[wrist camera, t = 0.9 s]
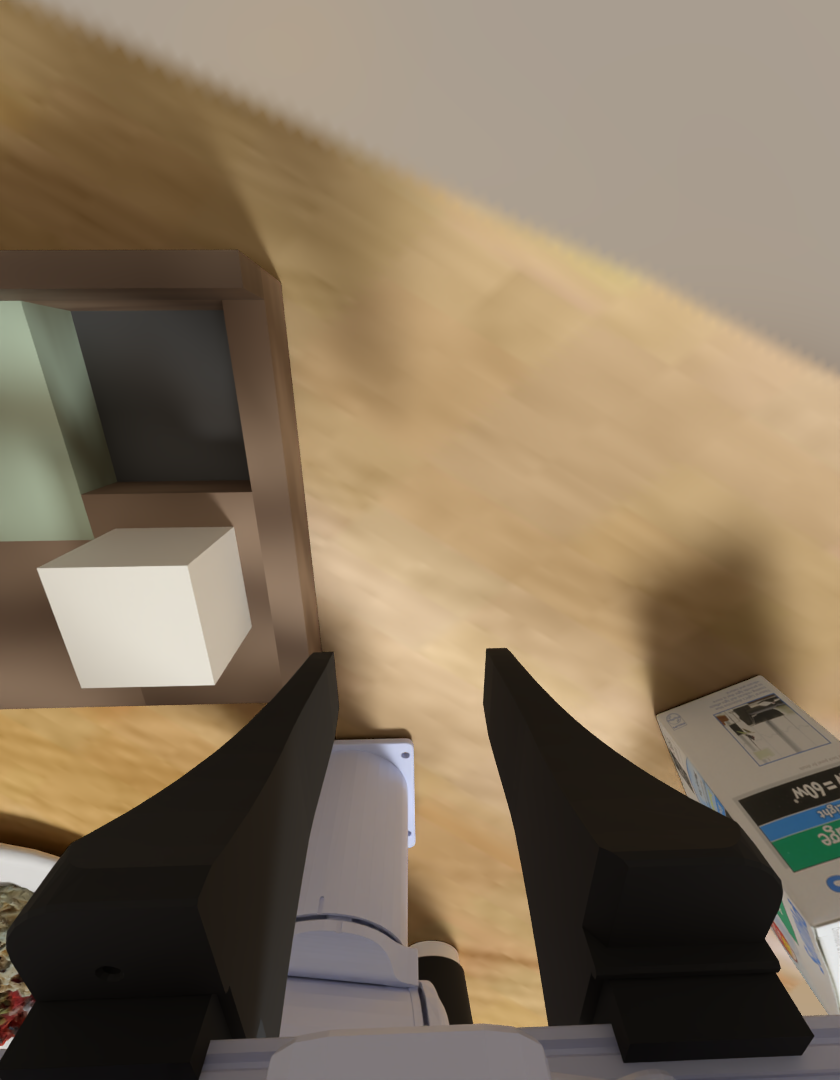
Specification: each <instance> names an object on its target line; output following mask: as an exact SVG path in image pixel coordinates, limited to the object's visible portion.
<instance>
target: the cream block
mask: <svg viewBox="0 0 840 1080" xmlns="http://www.w3.org/2000/svg"><path fill="white" fill-rule="evenodd" d="M37 571H38V573H39V576H40V579H41V581H42V584H43V587H44V589H45V592H46V595H47V597H48V600H49V603H50V605H51V608H52V611H53V613H54V616H55V619H56V622H57V624H58V627H59V630H60V632H61V635H62V638H63V640H64V643H65V646H66V648H67V651H68V654H69V656H70V659H71V662H72V664H73V667H74V670H75V672H76V675H77V678H78V680H79V683H80V686H81V688H115V687H157V686H200V685H215V684H216V682H217V681H218V679H219V678H220V676H221V675H222V673H223V671H224V670H225V668H226V667H227V665H228V664H229V662H230V660H231V659H232V657H233V656H234V654H235V653H236V651H237V649H238V648H239V646H240V645H241V643H242V642H243V640H244V638H245V637H246V635H247V634H248V632H249V631H250V629H251V627H252V625H251V620H250V614H249V608H248V603H247V597H246V592H245V586H244V581H243V575H242V569H241V564H240V558H239V553H238V547H237V541H236V536H235V530H234V527H182V528H119V529H113V530H111V531H109V532H107V533H105V534H104V535H102V536H100V537H98V538H96V539H94V540H92V541H90V542H88V543H86V544H84V545H82V546H80V547H78V548H76V549H74V550H72V551H70V552H68V553H66V554H64V555H62V556H60V557H58V558H56V559H54V560H52V561H50V562H48V563H46V564H44V565H42V566H40V567H38V568H37Z"/></svg>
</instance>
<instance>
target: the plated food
mask: <svg viewBox="0 0 840 1080" xmlns="http://www.w3.org/2000/svg"><path fill="white" fill-rule="evenodd" d="M59 858H60V857H58V856H55V855H52V854H48V853H45V852H42V851H39V850H36V849H30V848H25V847H20V846H15V845H10V844H4V843H0V1049H7V1048H8V1046H9V1045H10V1043H11V1041H12V1040H13V1038H14V1036H15V1035H16V1033H17V1031H18V1030H19V1028H20V1026H21V1025H22V1023H23V1021H24V1020H25V1018H26V1016H27V1015H28V1013H29V1011H30V1010H31V1008H32V1006H33V1005H34V1003H35V1001H36V1000H35V999H34V997H33V995H32V994H31V992H30V991H29V989H28V988H27V986H26V984H25V983H24V981H23V980H22V978H21V977H20V975H19V973H18V972H17V970H16V969H15V967H14V966H13V964H12V962H11V960H10V958H9V955H8V953H7V950H6V934H7V930H8V929H9V928H10V926H11V925H12V923H13V922H14V920H15V919H16V917H17V916H18V915H19V913H20V912H21V910H22V909H23V908H24V906H25V905H26V903H27V902H28V901H29V899H30V898H31V896H32V895H33V894H34V892H35V891H36V890H37V888H38V887H39V885H40V884H41V883H42V881H43V880H44V878H45V877H46V876H47V874H48V873H49V871H50V870H51V869H52V867H53V866H54V865H55V863H56V862H57V861H58V860H59Z"/></svg>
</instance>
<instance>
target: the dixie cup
mask: <svg viewBox="0 0 840 1080" xmlns="http://www.w3.org/2000/svg"><path fill="white" fill-rule="evenodd" d="M409 947H412V948H416V949H417V950H418V980H428V981H430V982H431V983H432V984H433V986H434V987H435V990H436V992H437V994H438V997H439V999H440V1001H441V1002H442V1004H443V1006H444V1008H445V1011H446V1014H447V1017H448V1021H449V1025H462V1024H473V1021H472V1015H471V1010H470V1004H469V998H468V992H467V987H466V981H465V975H464V971H463V968H462V967H461V965H460V961H459V956H458V952H457V950H456V949H455V948H454V947H453V946H451V945H449V944H447V943H444V942H440V941H423V942H419V943H415V944H413V945H411V946H409Z"/></svg>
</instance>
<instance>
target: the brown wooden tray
mask: <svg viewBox="0 0 840 1080" xmlns="http://www.w3.org/2000/svg"><path fill="white" fill-rule="evenodd" d="M182 527H234V530H235V536H236V541H237V547H238V553H239V558H240V564H241V569H242V575H243V581H244V586H245V592H246V597H247V603H248V608H249V614H250V620H251V625H252V627H251V629H250V631H249V632H248V634H247V635H246V637H245V638H244V640H243V642H242V643H241V645H240V646H239V648H238V649H237V651H236V653H235V654H234V656H233V657H232V659H231V660H230V662H229V664H228V665H227V667H226V668H225V670H224V671H223V673H222V675H221V676H220V678H219V679H218V681H217V682H216V684H215V685H200V686H157V687H115V688H81V686H80V683H79V680H78V678H77V675H76V672H75V670H74V667H73V664H72V662H71V659H70V656H69V654H68V651H67V648H66V646H65V643H64V640H63V638H62V635H61V632H60V630H59V627H58V624H57V622H56V619H55V616H54V613H53V611H52V608H51V605H50V603H49V600H48V597H47V595H46V592H45V589H44V587H43V584H42V581H41V579H40V576H39V573H38V571H37V568H38V567H40V566H42V565H44V564H46V563H48V562H50V561H52V560H54V559H56V558H58V557H60V556H62V555H64V554H66V553H68V552H70V551H72V550H74V549H76V548H78V547H80V546H82V545H84V544H86V543H88V542H90V541H92V540H94V539H96V538H98V537H100V536H102V535H104V534H105V533H107V532H109V531H111V530H113V529H119V528H182ZM313 652H322V647H321V638H320V629H319V620H318V611H317V602H316V593H315V584H314V575H313V566H312V557H311V548H310V539H309V530H308V521H307V512H306V504H305V495H304V486H303V477H302V468H301V459H300V450H299V441H298V432H297V423H296V414H295V405H294V396H293V387H292V378H291V369H290V360H289V351H288V342H287V333H286V324H285V315H284V306H283V297H282V288H281V282H280V281H278V280H277V279H276V278H274V277H273V276H272V275H270V274H269V273H268V272H266V271H265V270H264V269H263V268H261V267H260V266H259V265H257V264H256V263H255V262H253V261H252V260H251V259H249V258H248V257H247V256H246V255H244V254H243V253H242V252H240V251H239V250H0V709H29V708H70V707H111V706H151V705H192V704H233V703H269V702H270V701H271V700H272V698H273V697H274V696H275V695H276V694H277V693H278V692H279V691H280V690H281V689H282V687H283V686H284V685H285V684H286V683H287V682H288V681H289V680H290V678H291V677H292V676H293V675H294V674H295V673H296V671H297V670H298V669H299V668H300V667H301V665H302V664H303V663H304V662H305V661H306V659H307V658H308V657H309V656H310V655H311V654H312V653H313Z"/></svg>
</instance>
